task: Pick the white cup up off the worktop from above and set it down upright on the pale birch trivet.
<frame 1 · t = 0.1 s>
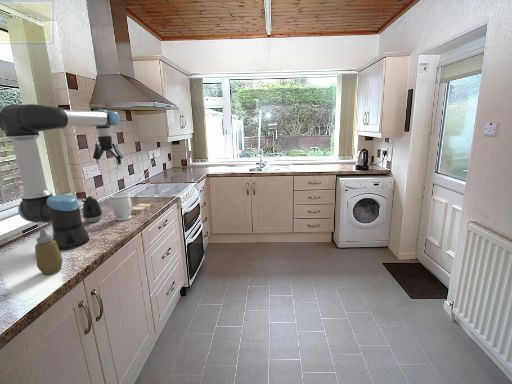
hand: (110, 169, 175), 28 cm above the worktop, tool pointing down, fingers open, 13 cm apart
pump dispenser: (93, 221, 164), on the worktop
white cup: (124, 218, 166), on the worktop
birch trivet: (140, 210, 182), on the worktop
squeeze bottle: (52, 271, 107), on the worktop
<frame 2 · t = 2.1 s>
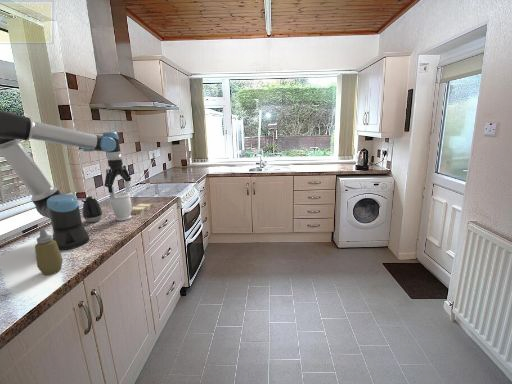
hand: (120, 194, 163), 15 cm above the worktop, tool pointing down, fingers open, 13 cm apart
nothing on the worktop moved.
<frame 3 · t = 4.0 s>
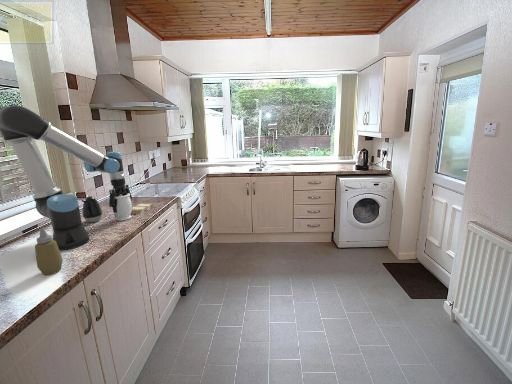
hand: (123, 214, 166), 3 cm above the worktop, tool pointing down, fingers closed on white cup, 10 cm apart
white cup: (124, 218, 166), on the worktop, touching gripper
everything else where it was.
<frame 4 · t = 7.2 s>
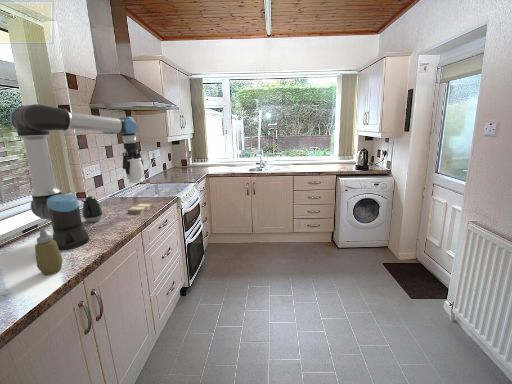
hand: (135, 177, 175), 22 cm above the worktop, tool pointing down, fingers closed on white cup, 10 cm apart
white cup: (136, 182, 176), point 19 cm above the worktop, touching gripper
everything else where it was.
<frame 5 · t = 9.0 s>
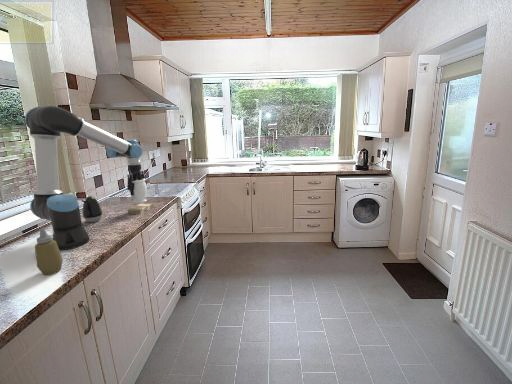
hand: (139, 197, 180), 9 cm above the worktop, tool pointing down, fingers closed on white cup, 10 cm apart
white cup: (139, 202, 181), point 6 cm above the worktop, touching gripper
everything else where it was.
when the fingers open (7 cm above the worktop, at t = 10.3 s): white cup drops 1 cm, resting on birch trivet.
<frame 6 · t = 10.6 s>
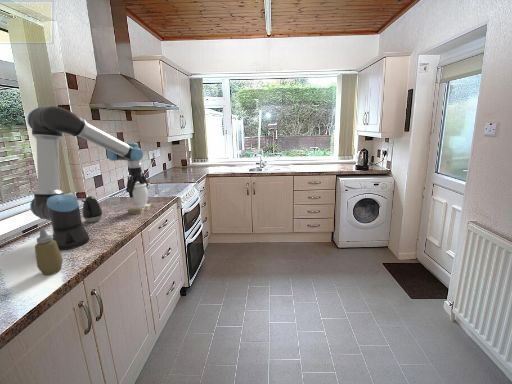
hand: (139, 199, 180), 8 cm above the worktop, tool pointing down, fingers open, 13 cm apart
white cup: (140, 206, 182), point 2 cm above the worktop, touching birch trivet
everything else where it was.
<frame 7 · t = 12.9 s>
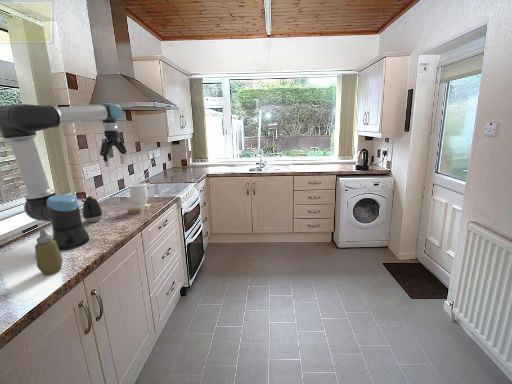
hand: (115, 165, 170), 31 cm above the worktop, tool pointing down, fingers open, 13 cm apart
nothing on the worktop moved.
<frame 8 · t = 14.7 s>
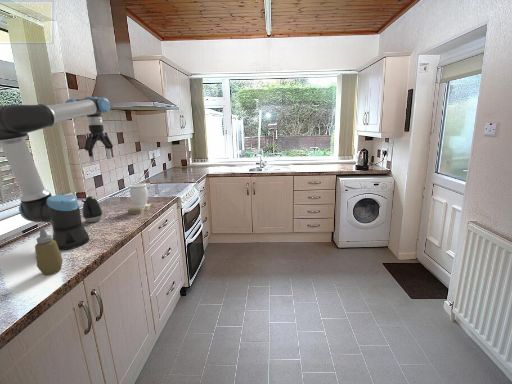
hand: (101, 160, 166), 35 cm above the worktop, tool pointing down, fingers open, 13 cm apart
nothing on the worktop moved.
at the end: white cup inside the target area on the birch trivet (0.4 cm from its centre), point 2.3 cm above the birch trivet's base; white cup tilted 0°; the gripper is holding nothing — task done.
